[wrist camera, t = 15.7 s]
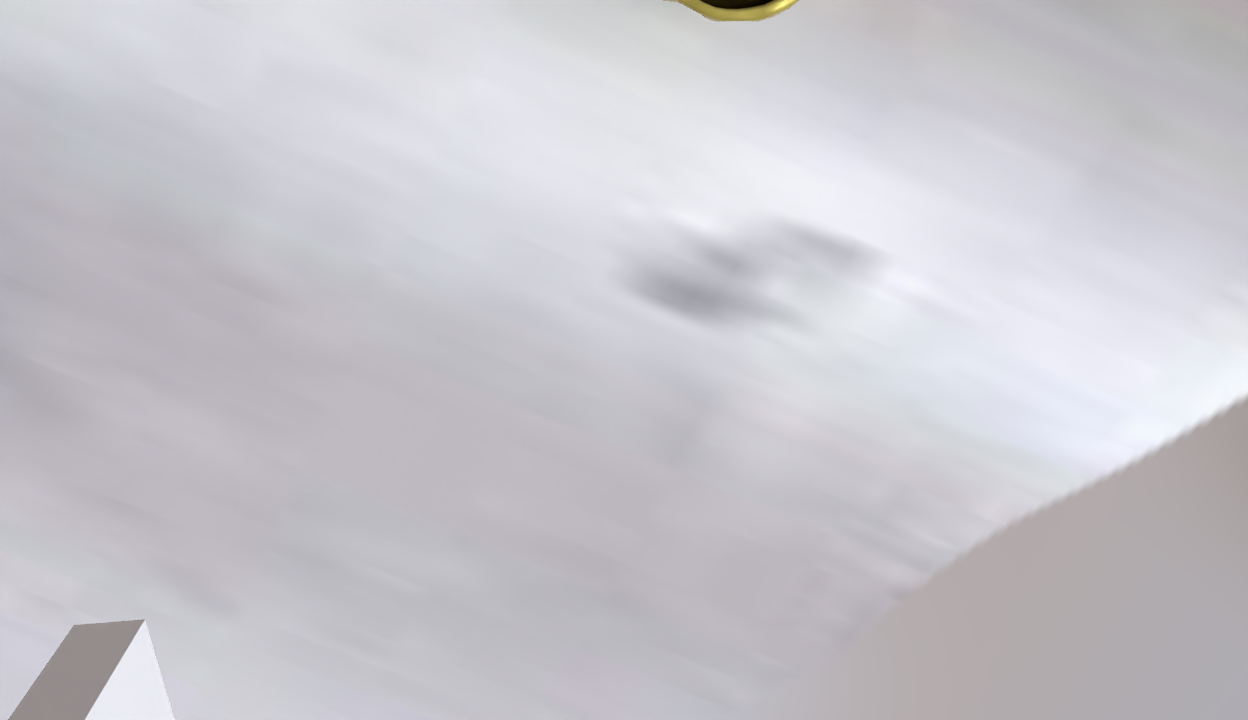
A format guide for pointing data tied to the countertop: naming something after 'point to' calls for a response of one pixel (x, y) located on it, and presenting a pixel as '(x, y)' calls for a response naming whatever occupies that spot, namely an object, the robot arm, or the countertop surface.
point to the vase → (738, 8)
